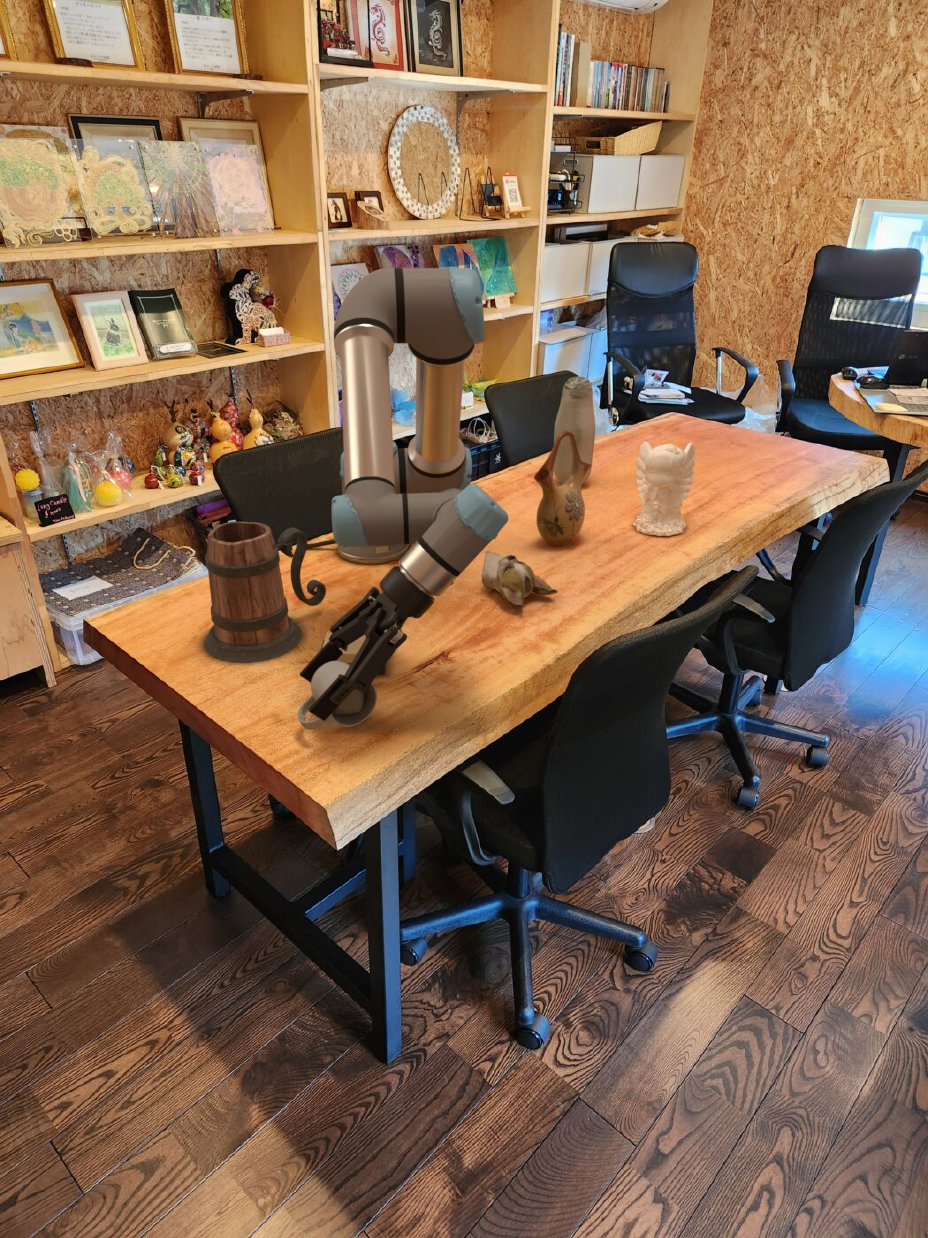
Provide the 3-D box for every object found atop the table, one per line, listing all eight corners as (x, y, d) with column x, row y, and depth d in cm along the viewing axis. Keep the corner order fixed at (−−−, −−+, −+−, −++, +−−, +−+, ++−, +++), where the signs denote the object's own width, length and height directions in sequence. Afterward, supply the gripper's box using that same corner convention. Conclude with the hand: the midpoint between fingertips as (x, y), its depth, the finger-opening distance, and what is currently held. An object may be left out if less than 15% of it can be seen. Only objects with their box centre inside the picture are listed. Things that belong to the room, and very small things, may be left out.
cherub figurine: (623, 533, 188) (631, 446, 179) (631, 514, 199) (639, 432, 189) (681, 540, 184) (693, 452, 175) (687, 521, 195) (698, 437, 186)
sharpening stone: (317, 675, 134) (315, 653, 132) (324, 650, 141) (322, 630, 139) (385, 675, 134) (384, 654, 132) (388, 650, 141) (388, 630, 139)
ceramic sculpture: (507, 535, 163) (563, 563, 153) (504, 574, 167) (558, 603, 158) (466, 550, 157) (522, 580, 147) (465, 590, 161) (519, 621, 152)
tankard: (234, 673, 134) (217, 560, 125) (186, 636, 145) (167, 529, 135) (351, 627, 148) (344, 522, 139) (300, 596, 159) (290, 497, 150)
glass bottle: (546, 481, 221) (551, 374, 208) (581, 477, 224) (588, 371, 210) (560, 492, 212) (567, 382, 199) (596, 489, 215) (606, 379, 202)
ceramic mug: (353, 692, 125) (349, 648, 122) (380, 717, 119) (376, 671, 116) (288, 715, 120) (282, 670, 117) (313, 743, 114) (307, 696, 111)
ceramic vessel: (548, 558, 175) (555, 442, 164) (518, 546, 181) (522, 433, 170) (598, 538, 185) (608, 428, 173) (568, 527, 191) (575, 420, 179)
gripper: (458, 631, 107) (344, 752, 110) (416, 565, 125) (320, 671, 129) (417, 600, 103) (301, 726, 106) (380, 537, 122) (282, 646, 125)
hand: (311, 696), depth 117 cm, fingers closed on ceramic mug, 9 cm apart
